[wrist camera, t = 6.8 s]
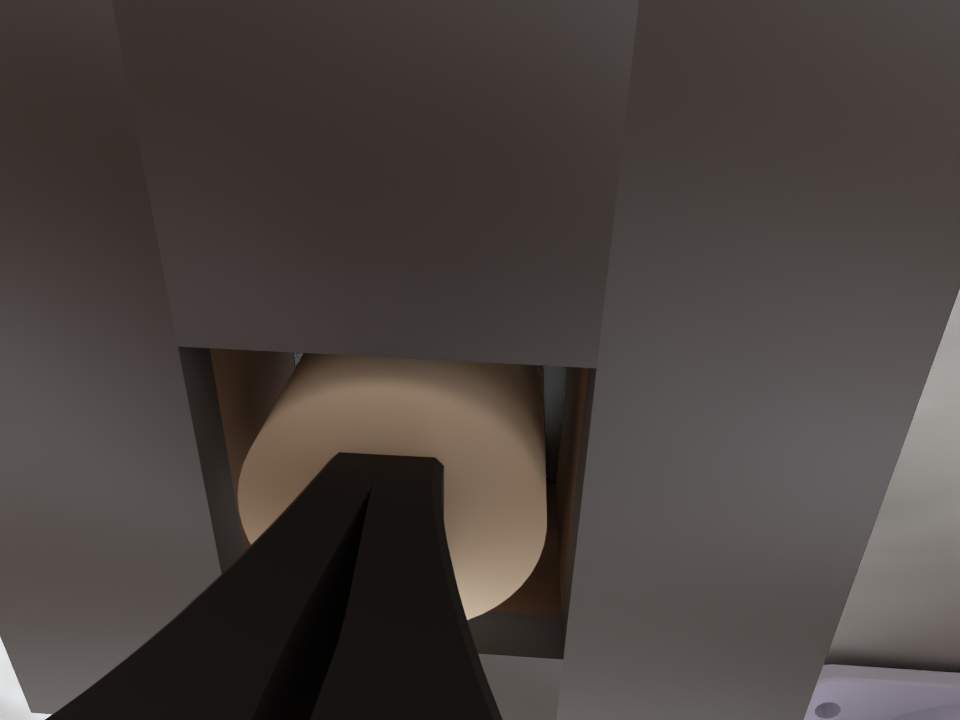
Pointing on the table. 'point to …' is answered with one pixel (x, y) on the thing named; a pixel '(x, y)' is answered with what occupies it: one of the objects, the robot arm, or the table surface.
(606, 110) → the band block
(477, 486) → the inner peg
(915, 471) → the table surface
